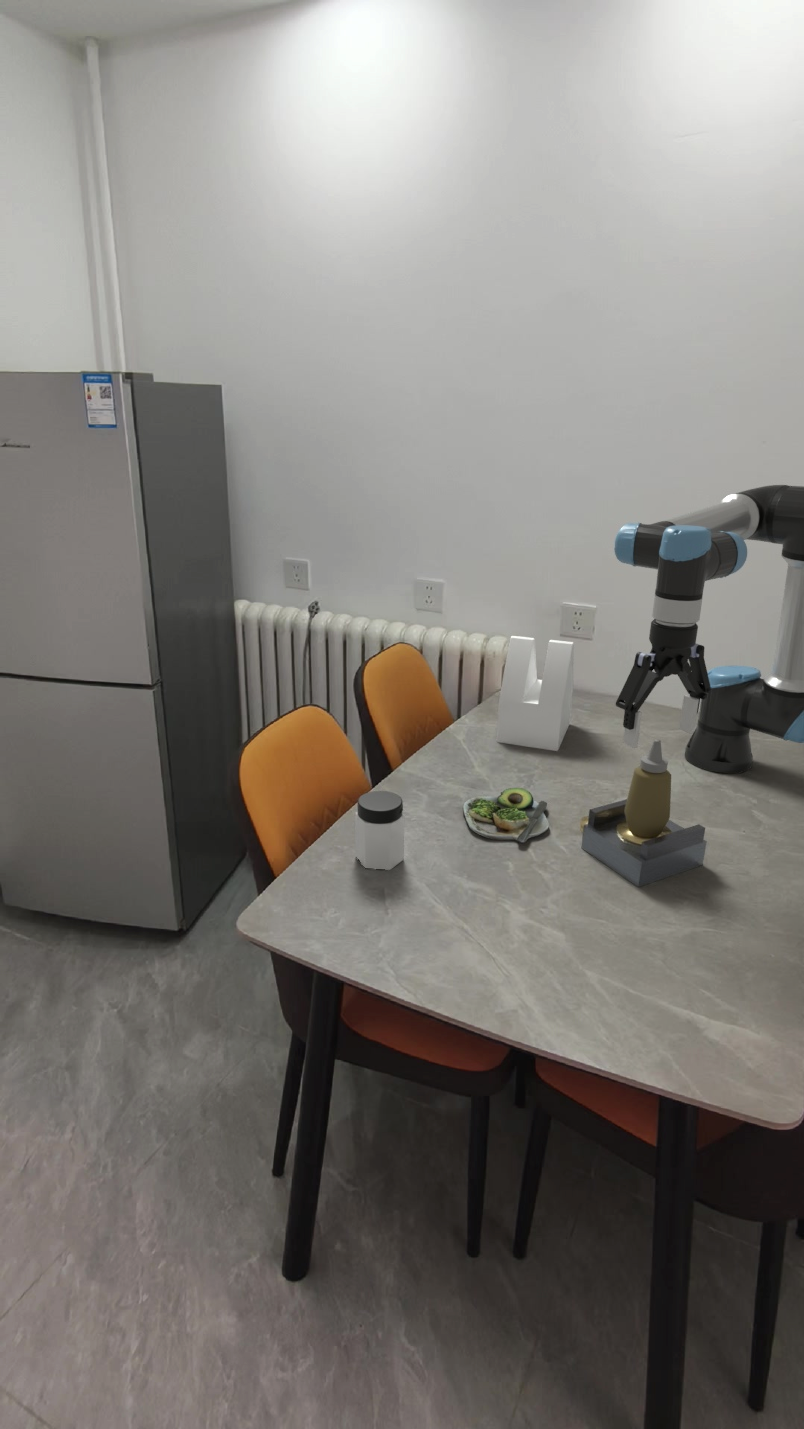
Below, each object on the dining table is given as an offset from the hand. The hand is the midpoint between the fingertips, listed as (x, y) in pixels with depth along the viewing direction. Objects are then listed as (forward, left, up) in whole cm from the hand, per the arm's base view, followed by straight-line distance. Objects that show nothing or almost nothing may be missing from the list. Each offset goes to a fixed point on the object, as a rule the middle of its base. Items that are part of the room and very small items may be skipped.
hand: (658, 738), depth 140 cm
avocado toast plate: (+14, -23, -25) cm, 37 cm away
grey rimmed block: (0, 0, -24) cm, 24 cm away
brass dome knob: (+1, -11, -24) cm, 27 cm away
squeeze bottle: (0, 0, -19) cm, 19 cm away
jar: (+44, -21, -24) cm, 55 cm away
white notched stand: (-20, -58, -24) cm, 66 cm away
